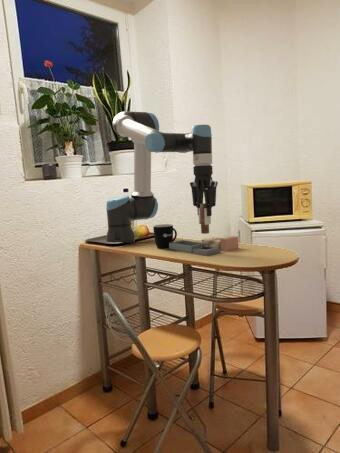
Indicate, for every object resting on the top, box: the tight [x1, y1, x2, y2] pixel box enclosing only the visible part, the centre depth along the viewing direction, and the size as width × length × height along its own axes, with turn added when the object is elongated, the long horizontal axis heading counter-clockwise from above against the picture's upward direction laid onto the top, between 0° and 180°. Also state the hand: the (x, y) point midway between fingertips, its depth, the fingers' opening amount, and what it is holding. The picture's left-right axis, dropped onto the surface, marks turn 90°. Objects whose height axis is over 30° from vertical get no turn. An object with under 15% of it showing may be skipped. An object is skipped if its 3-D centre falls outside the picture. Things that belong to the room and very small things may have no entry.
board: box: [201, 236, 222, 251], centre depth 157 cm, size 10×8×4 cm
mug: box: [152, 223, 178, 250], centre depth 164 cm, size 12×9×10 cm
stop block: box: [220, 235, 239, 252], centre depth 151 cm, size 3×8×5 cm, turn 131°
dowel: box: [200, 202, 210, 235], centre depth 145 cm, size 3×3×12 cm
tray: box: [168, 239, 205, 254], centre depth 155 cm, size 14×8×3 cm, turn 41°
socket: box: [192, 246, 221, 257], centre depth 147 cm, size 8×8×2 cm
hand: (204, 223), depth 146 cm, fingers closed on dowel, 3 cm apart
